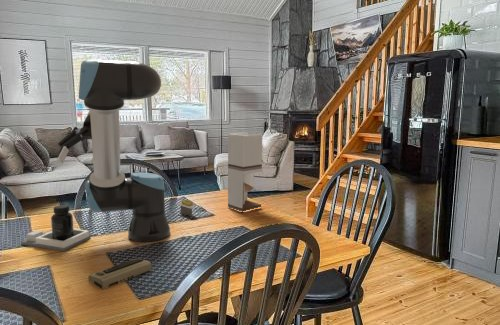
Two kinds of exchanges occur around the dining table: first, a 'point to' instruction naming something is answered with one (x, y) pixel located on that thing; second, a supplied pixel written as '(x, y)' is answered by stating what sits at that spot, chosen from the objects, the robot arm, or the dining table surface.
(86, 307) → the dining table surface
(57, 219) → the supplement bottle
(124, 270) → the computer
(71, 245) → the charging dock
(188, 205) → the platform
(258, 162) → the notched beige pillar
